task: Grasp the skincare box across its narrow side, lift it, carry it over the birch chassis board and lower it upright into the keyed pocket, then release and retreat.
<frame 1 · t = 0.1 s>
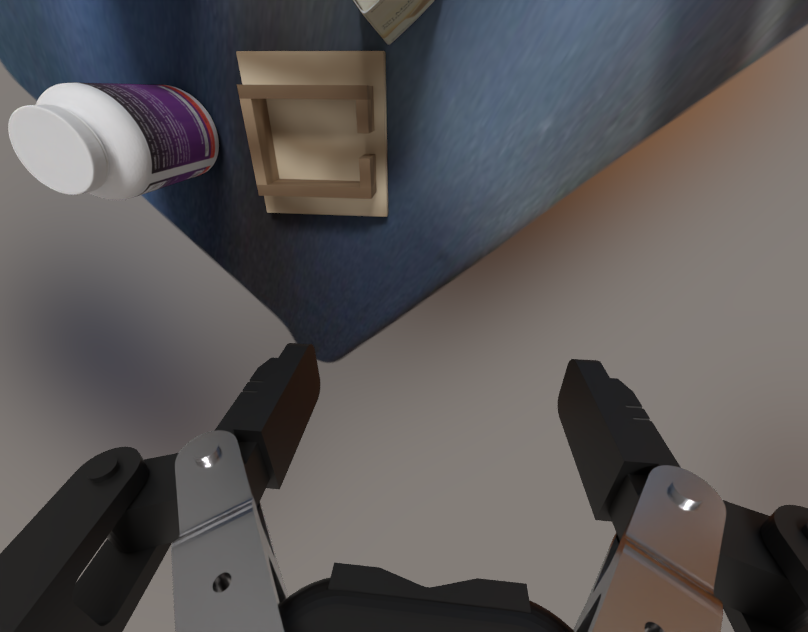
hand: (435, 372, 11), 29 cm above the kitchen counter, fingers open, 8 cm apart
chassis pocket: (321, 140, 35), on the kitchen counter
pill bottle: (185, 132, 36), on the kitchen counter
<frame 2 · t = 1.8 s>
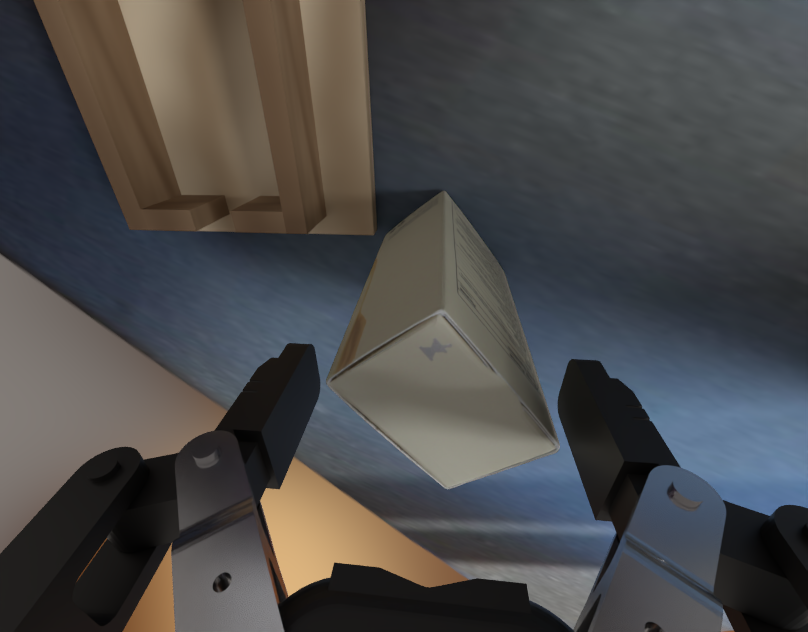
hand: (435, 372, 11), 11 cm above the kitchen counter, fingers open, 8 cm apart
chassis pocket: (229, 96, 18), on the kitchen counter
skincare box: (447, 255, 21), on the kitchen counter
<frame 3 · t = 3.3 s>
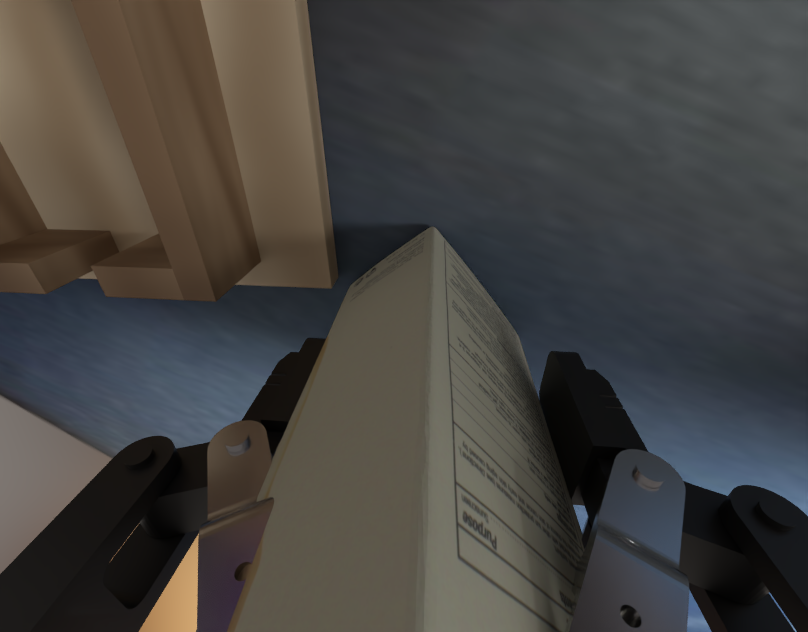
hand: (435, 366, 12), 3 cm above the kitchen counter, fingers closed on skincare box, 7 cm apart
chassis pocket: (101, 83, 11), on the kitchen counter
skincare box: (438, 311, 15), on the kitchen counter, touching gripper
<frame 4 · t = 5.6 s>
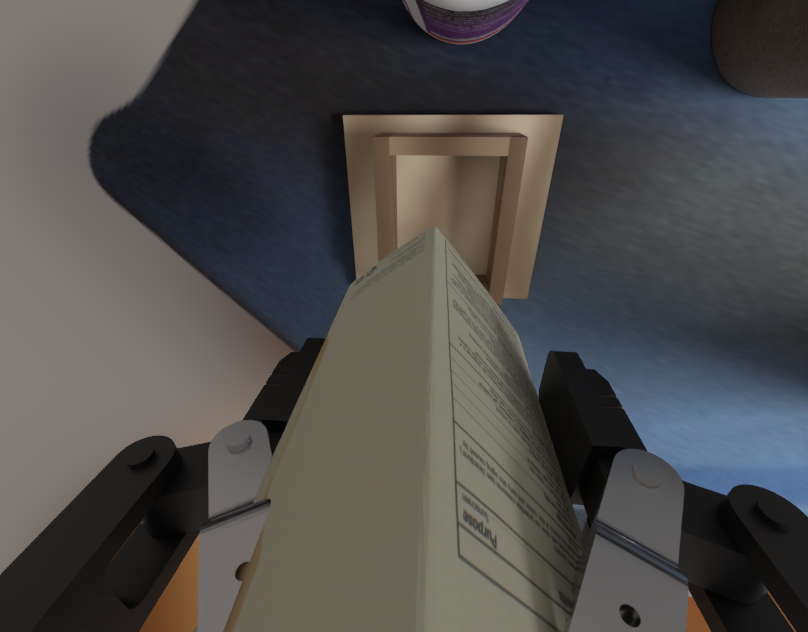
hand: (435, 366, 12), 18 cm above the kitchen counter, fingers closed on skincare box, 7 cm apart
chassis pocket: (444, 213, 27), on the kitchen counter
skincare box: (438, 310, 15), point 15 cm above the kitchen counter, touching gripper
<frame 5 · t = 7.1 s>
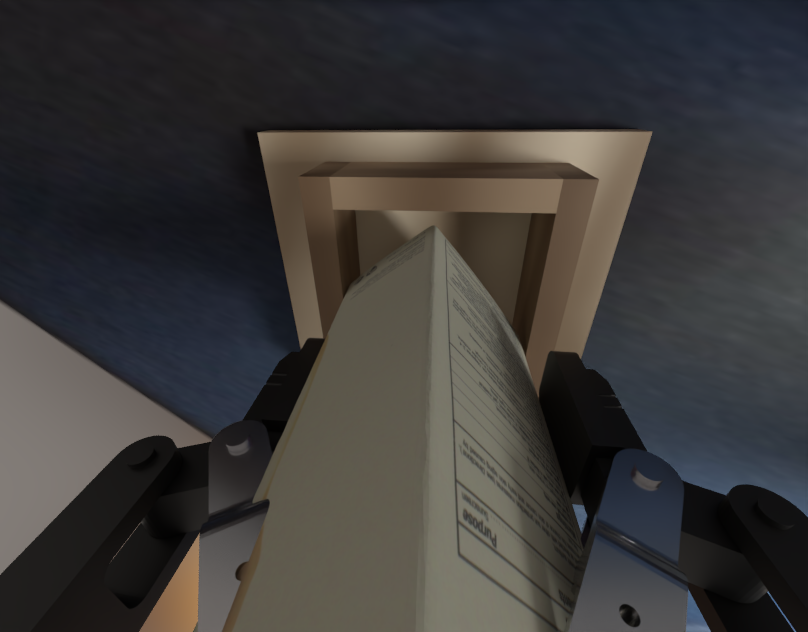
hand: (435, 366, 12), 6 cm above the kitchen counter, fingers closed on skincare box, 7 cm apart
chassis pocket: (438, 283, 17), on the kitchen counter
skincare box: (438, 310, 15), point 3 cm above the kitchen counter, touching gripper
when the fingers open (6 cm above the kitchen counter, at t = 8.2 s): skincare box drops 1 cm, resting on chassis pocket.
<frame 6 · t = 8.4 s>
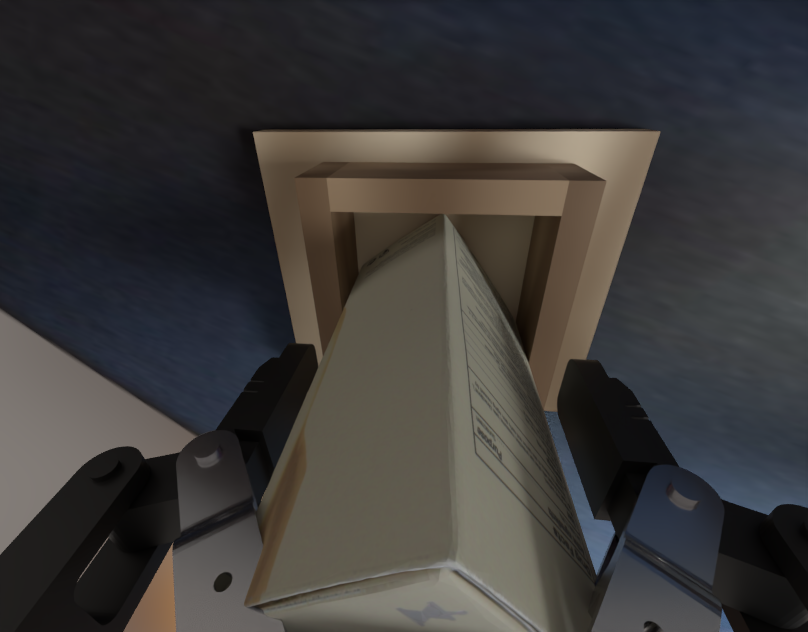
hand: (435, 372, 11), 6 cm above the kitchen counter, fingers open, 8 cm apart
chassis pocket: (438, 286, 17), on the kitchen counter
skincare box: (442, 294, 16), point 1 cm above the kitchen counter, touching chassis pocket
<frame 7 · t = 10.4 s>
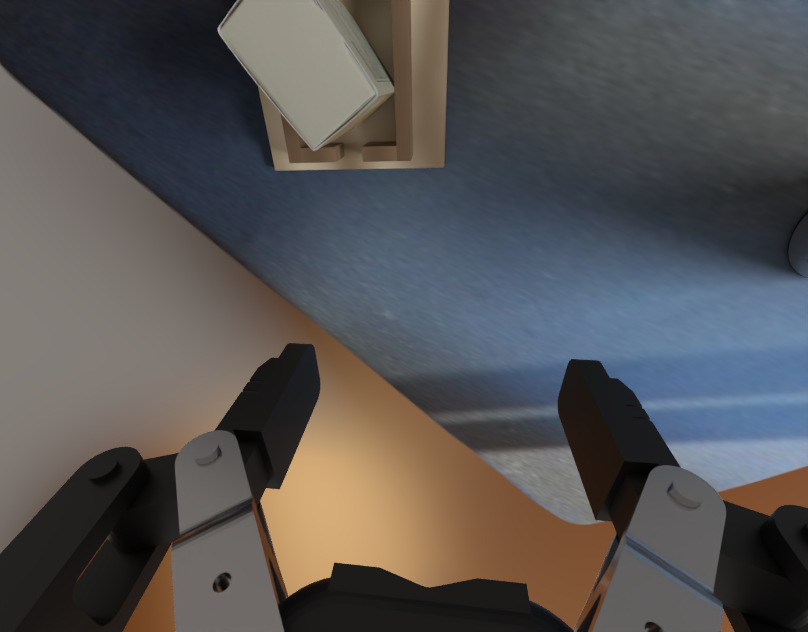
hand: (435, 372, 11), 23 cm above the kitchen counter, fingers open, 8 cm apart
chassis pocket: (352, 73, 27), on the kitchen counter
skincare box: (352, 72, 26), point 1 cm above the kitchen counter, touching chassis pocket
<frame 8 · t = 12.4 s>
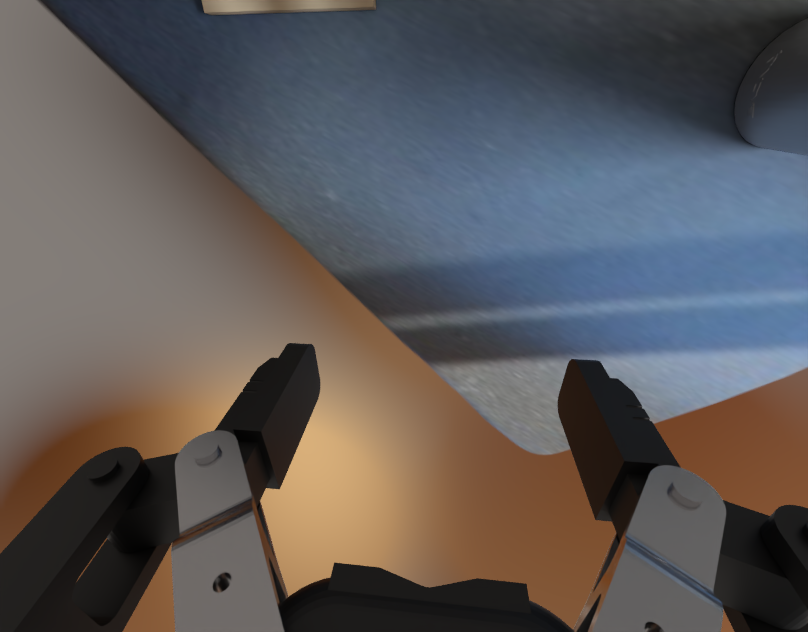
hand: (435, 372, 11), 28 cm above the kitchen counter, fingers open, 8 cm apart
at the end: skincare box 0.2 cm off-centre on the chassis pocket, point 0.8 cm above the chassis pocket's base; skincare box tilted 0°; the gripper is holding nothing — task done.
